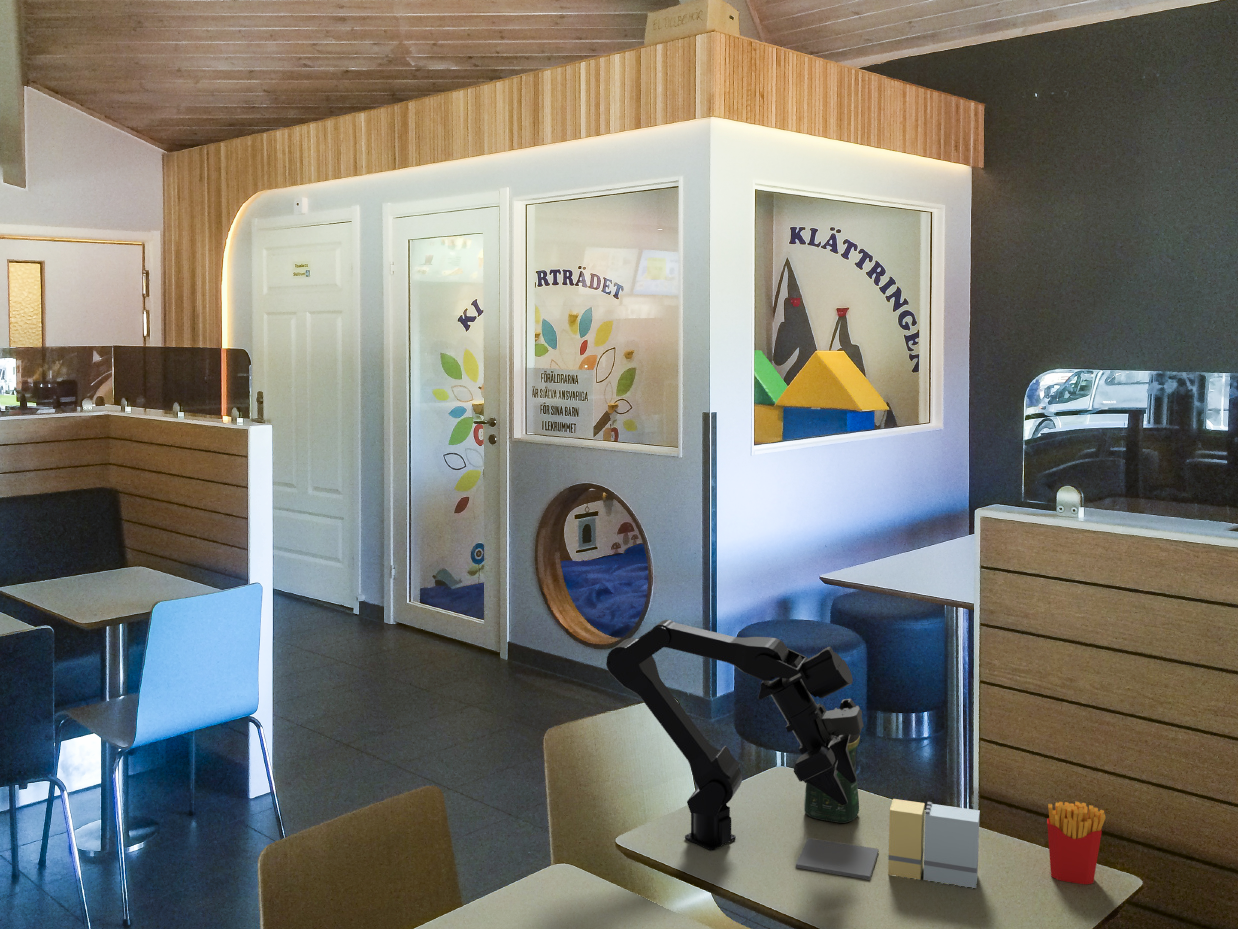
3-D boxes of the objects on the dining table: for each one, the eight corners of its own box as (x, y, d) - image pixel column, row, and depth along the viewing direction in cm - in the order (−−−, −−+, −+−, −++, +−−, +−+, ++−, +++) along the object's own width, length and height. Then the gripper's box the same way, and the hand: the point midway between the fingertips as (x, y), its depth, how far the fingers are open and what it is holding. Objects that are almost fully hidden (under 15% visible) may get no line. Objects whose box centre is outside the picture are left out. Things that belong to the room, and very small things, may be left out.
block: (888, 875, 179) (889, 810, 178) (891, 862, 183) (893, 798, 182) (920, 880, 177) (922, 814, 176) (923, 867, 181) (924, 803, 180)
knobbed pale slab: (923, 880, 177) (925, 812, 176) (926, 867, 181) (927, 801, 180) (976, 889, 174) (978, 820, 173) (977, 875, 178) (979, 808, 177)
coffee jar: (863, 810, 203) (865, 712, 200) (851, 828, 196) (853, 727, 193) (811, 801, 207) (813, 705, 205) (798, 817, 200) (799, 718, 198)
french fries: (1045, 878, 177) (1048, 806, 176) (1045, 867, 181) (1048, 797, 180) (1102, 887, 174) (1106, 814, 173) (1101, 876, 178) (1105, 804, 176)
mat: (795, 867, 182) (795, 864, 181) (807, 841, 191) (807, 837, 191) (870, 880, 177) (870, 876, 177) (878, 852, 187) (878, 848, 186)
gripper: (831, 707, 172) (885, 795, 170) (850, 672, 189) (899, 752, 187) (771, 737, 176) (823, 824, 174) (795, 700, 193) (843, 779, 192)
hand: (849, 793), depth 182 cm, fingers open, 9 cm apart
